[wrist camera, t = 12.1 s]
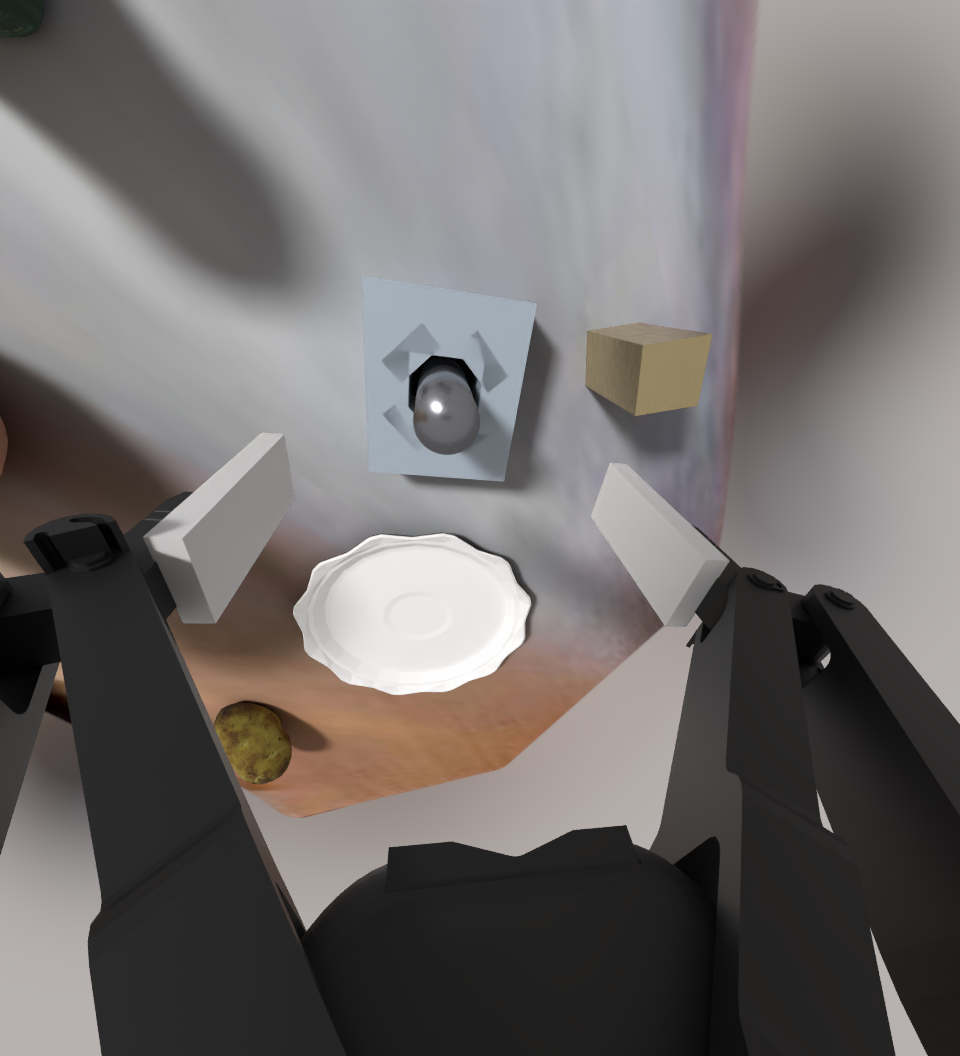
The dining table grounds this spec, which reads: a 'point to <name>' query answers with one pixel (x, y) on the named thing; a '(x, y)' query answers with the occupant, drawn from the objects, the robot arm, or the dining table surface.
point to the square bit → (647, 366)
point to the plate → (412, 613)
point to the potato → (253, 741)
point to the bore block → (451, 331)
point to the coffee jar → (20, 17)
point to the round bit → (445, 408)
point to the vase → (3, 445)
